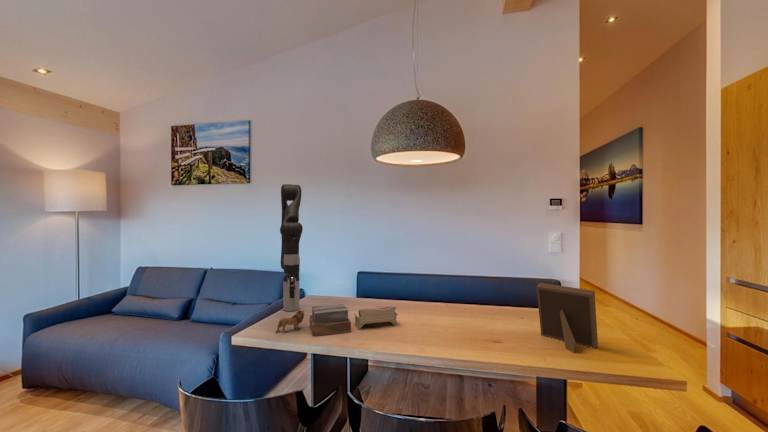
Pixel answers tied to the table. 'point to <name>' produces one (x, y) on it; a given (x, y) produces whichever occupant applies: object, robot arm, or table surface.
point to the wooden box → (329, 320)
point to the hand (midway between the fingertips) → (291, 296)
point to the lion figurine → (291, 321)
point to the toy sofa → (375, 316)
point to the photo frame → (568, 315)
